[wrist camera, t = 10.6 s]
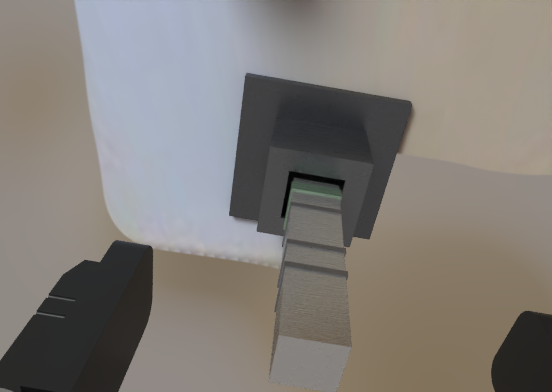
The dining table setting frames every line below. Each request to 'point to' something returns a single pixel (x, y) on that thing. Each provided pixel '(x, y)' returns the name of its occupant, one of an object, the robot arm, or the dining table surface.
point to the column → (312, 292)
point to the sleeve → (314, 150)
